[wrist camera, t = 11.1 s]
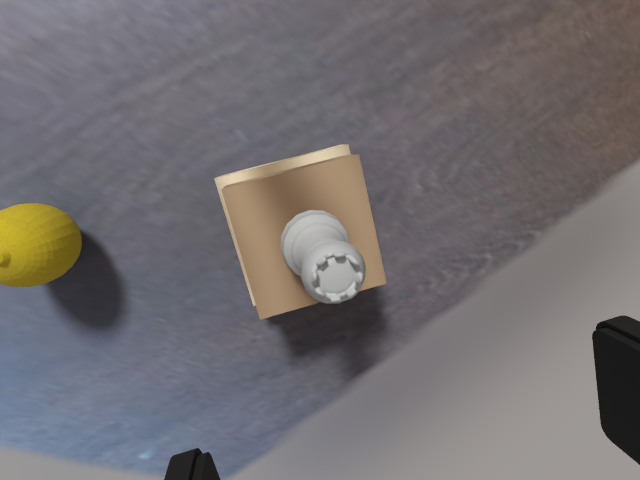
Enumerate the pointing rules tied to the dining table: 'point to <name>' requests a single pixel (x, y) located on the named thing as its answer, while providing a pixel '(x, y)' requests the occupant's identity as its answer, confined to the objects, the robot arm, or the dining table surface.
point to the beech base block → (269, 169)
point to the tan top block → (281, 207)
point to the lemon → (36, 244)
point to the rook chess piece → (323, 256)
